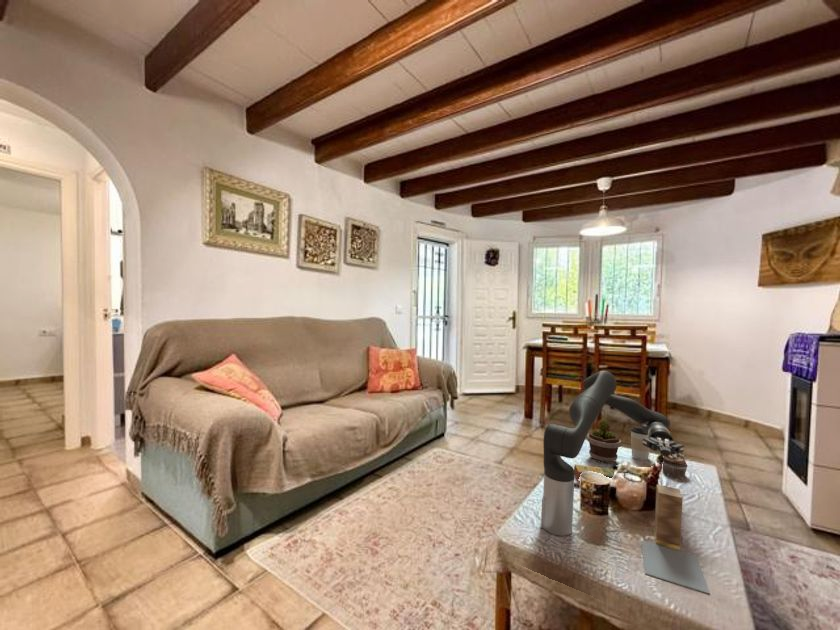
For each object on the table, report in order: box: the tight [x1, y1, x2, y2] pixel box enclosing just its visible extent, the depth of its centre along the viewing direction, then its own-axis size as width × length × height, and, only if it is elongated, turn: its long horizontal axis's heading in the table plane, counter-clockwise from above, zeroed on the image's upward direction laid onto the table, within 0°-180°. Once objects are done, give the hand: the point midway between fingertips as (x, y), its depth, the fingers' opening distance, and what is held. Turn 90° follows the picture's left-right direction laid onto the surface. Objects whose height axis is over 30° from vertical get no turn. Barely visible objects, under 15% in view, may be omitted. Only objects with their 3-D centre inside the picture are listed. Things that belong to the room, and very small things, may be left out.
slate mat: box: [640, 540, 711, 595], centre depth 104 cm, size 14×16×1 cm
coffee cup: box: [630, 424, 651, 461], centre depth 179 cm, size 9×9×15 cm
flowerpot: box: [585, 417, 623, 464], centre depth 175 cm, size 14×15×20 cm
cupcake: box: [662, 452, 688, 479], centre depth 162 cm, size 10×10×10 cm
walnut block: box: [653, 484, 683, 551], centre depth 114 cm, size 6×6×16 cm
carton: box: [573, 464, 615, 480], centre depth 155 cm, size 8×16×4 cm, turn 78°
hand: (665, 453), depth 123 cm, fingers closed
